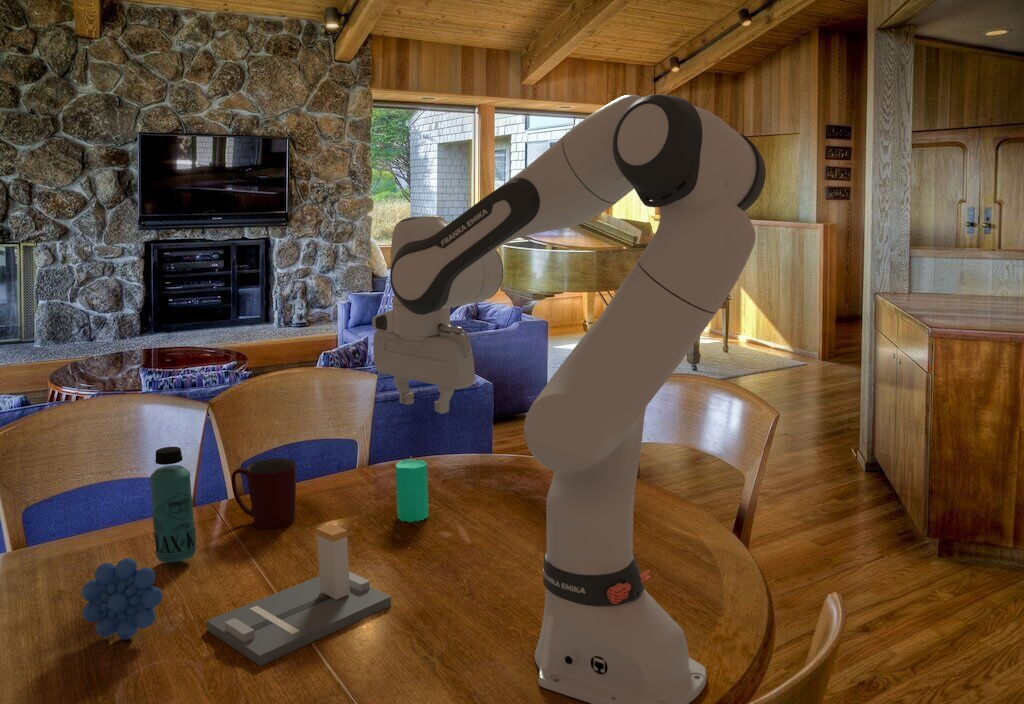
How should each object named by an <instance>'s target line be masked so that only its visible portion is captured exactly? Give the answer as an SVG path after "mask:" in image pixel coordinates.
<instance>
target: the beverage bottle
mask: <svg viewBox="0 0 1024 704" xmlns="http://www.w3.org/2000/svg"><path fill="white" fill-rule="evenodd" d="M183 460H184V459H183V454H182V450H181V447H179V446H165V447H161V448H158V449H156V451H155V459H154V461H155V464H157V465H159V466H160V465H161V467H158V468H156V469H155V471H153V473H151V475H150V476H149V482H150V488H151V489H150V490H151V491H150V492H151V503H152V504H151V505H152V513H151V515H152V524H153V525H152V527H153V532H152V533H153V538H154V539H153V540H154V546H155V547H154V548H155V557H156V558H157V560H158V561H160V562H162V563H177V562H183V561H185V560H187V559H190V558H192V557H193V556H194V555H195V554H196V550H197V545H196V540H197V536H196V527H195V519H194V516H195V515H194V514H195V513H194V506H193V504H194V503H193V497H192V488H191V487H192V486H191V472H190V470H188V469H187V468H186V467H184V466H182V465H180V464H178V463H180V462H182V461H183ZM163 465H164V466H163Z"/></svg>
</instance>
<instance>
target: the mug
mask: <svg viewBox="0 0 1024 704" xmlns="http://www.w3.org/2000/svg"><path fill="white" fill-rule="evenodd" d="M296 465H297V464H296V461H294V460H292V459H290V458H289V459H288V458H280V457H279V458H267V459H261V460H257V461H255V462H251V463H250V464H248V465H246V468H243V467H239V468H236V469H234V471H233V472H232V474H231V486H232V492H233V496H234V498H235V500H236V503H237V504H238V506H239V508H240V509H241V510H242V511H243V512H244V513H245V514H246V515H248V516H249V517H251V518H253V524H254V526H255V527H258V528H260V529H267V530H270V529H278V528H283V527H287V526H289V525H291V524H293V523H294V522H295V520H296V501H297V499H296V495H297V493H296V492H297V468H296ZM237 474H243V475H244V476H246V479H247V486H248V493H249V498H250V505H251V508H249V507H247V505H246V504H245V503H244V502H243V499H241V495H240V494H239V491H238V487H237V482H236V475H237Z"/></svg>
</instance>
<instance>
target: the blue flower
mask: <svg viewBox="0 0 1024 704" xmlns="http://www.w3.org/2000/svg"><path fill="white" fill-rule="evenodd" d="M93 576H94V579H91V580H89V581H87V582H86V583H85V584H83V585H84V586H83V587H82V588H81V593H80V594H81V595H82V599H83V600H85V601H87V603H86V604H85V605H84V607H83V608H82V612H81V615H82V618H83V620H84V621H86V622H88V623H95V628H94V629H95V632H96V633H97V636H100V637H102V638H109V637H111V636H113V635H114V634H115V633H116V637H117V638H118V639H120V640H122V641H123V640H124V641H125V640H127V641H128V640H130V639H131V638H133V637H135V635H136V634H137V632H138V629H147V628H149V627H150V626H152V625H153V624H154V623H155V620H156V615H157V614H156V612H155V610H154V608H156V607H158V606H159V605H160V604H161V603H162V601H163V592H162V590H161V589H160V588H159V587H157V586H152V585H153V584H154V583H155V581H156V573H155V571H154V570H153V569H152V568H151V567H141V568H140V569H138V564H137V562H136V560H134V559H132V557H124V558H122V559H121V560H119V562H117V564H116V565H114V564H112V563H111V562H104V563H102V564H101V565H99V566H98V567H97V568H96V570H95V571H94V575H93Z"/></svg>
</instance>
